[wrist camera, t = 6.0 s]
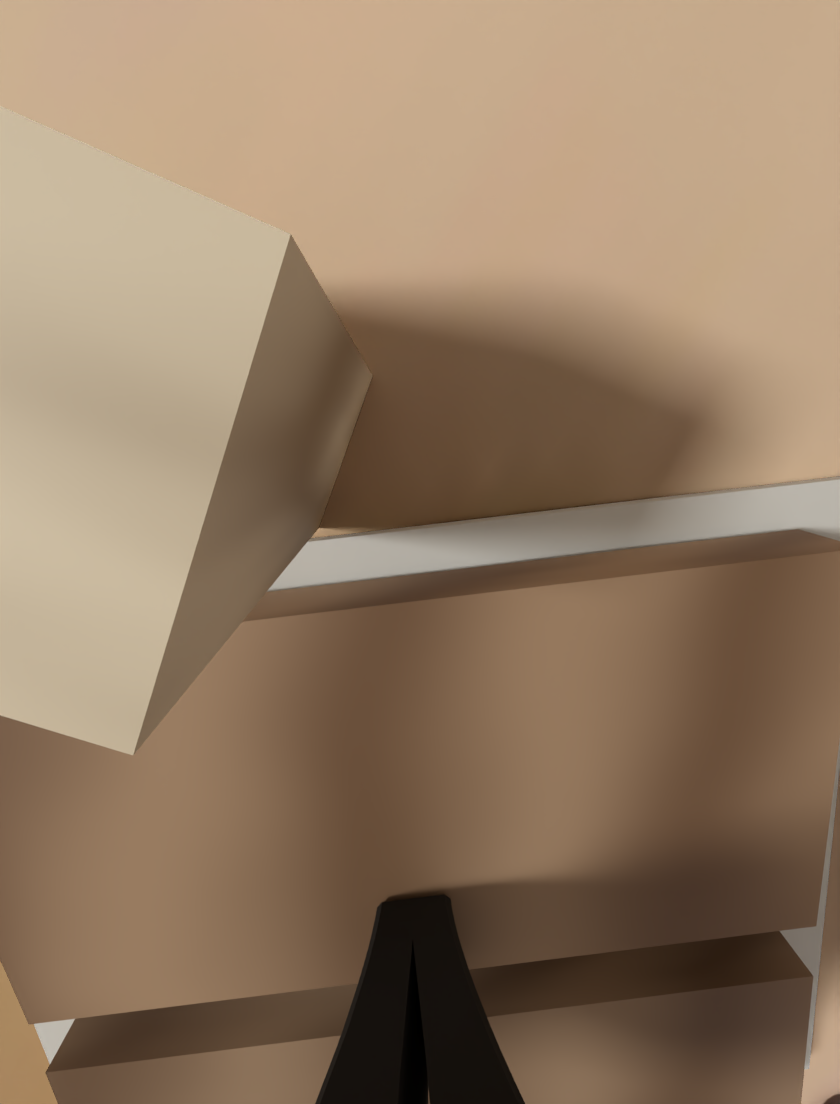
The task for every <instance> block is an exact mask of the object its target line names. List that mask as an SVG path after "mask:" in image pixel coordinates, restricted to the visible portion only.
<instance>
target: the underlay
mask: <svg viewBox="0 0 840 1104" xmlns="http://www.w3.org/2000/svg"><path fill="white" fill-rule="evenodd" d="M795 529H800V530H803V531H806V532H810V533H813V534H817V535H820V536H824V537H827V538H831V539H834V540H837V541H840V476H838V477H830V478H821V479H813V480H804V481H796V482H787V483H779V484H770V485H762V486H753V487H745V488H736V489H728V490H719V491H711V492H702V493H694V494H685V495H676V496H668V497H659V498H651V499H642V500H634V501H625V502H617V503H608V504H600V505H591V506H583V507H574V508H566V509H557V510H549V511H540V512H532V513H523V514H515V515H506V516H498V517H489V518H481V519H472V520H463V521H455V522H446V523H438V524H429V525H421V526H412V527H404V528H395V529H387V530H378V531H370V532H361V533H353V534H344V535H336V536H327V537H319V538H310V539H309V540H308V542H307V543H306V544H305V545H304V547H303V548H302V549H301V550H300V551H299V553H298V554H297V555H296V556H295V558H294V559H293V560H292V561H291V563H290V564H289V565H288V566H287V567H286V569H285V570H284V571H283V572H282V574H281V575H280V576H279V577H278V578H277V580H276V581H275V582H274V583H273V585H272V586H271V587H270V588H269V589H268V591H267V592H270V591H279V590H287V589H296V588H304V587H313V586H321V585H329V584H338V583H346V582H355V581H363V580H372V579H380V578H389V577H397V576H406V575H414V574H423V573H431V572H439V571H448V570H456V569H465V568H473V567H482V566H490V565H499V564H507V563H516V562H524V561H533V560H541V559H550V558H558V557H566V556H575V555H583V554H592V553H600V552H609V551H617V550H626V549H634V548H643V547H651V546H660V545H668V544H676V543H685V542H693V541H702V540H710V539H719V538H727V537H736V536H744V535H753V534H761V533H770V532H778V531H786V530H795ZM839 771H840V741H839V749H838V757H837V765H836V773H835V781H834V789H833V797H832V805H831V813H830V821H829V829H828V837H827V845H826V853H825V861H824V869H823V877H822V885H821V893H820V901H819V909H818V917H817V925H816V926H814V927H806V928H798V929H790V930H782V931H780V932H781V934H782V935H783V936H784V938H785V939H786V940H787V942H788V943H789V944H790V946H791V947H792V948H793V950H794V951H795V952H796V954H797V955H798V956H799V958H800V959H801V960H802V962H803V963H804V964H805V966H806V967H807V968H808V970H809V971H810V972H811V974H812V975H813V985H812V995H811V1006H810V1016H809V1026H808V1036H807V1046H806V1056H805V1066H804V1069H809V1065H810V1055H811V1045H812V1035H813V1026H814V1016H815V1006H816V996H817V986H818V977H819V967H820V957H821V947H822V937H823V928H824V918H825V908H826V898H827V888H828V879H829V869H830V859H831V849H832V839H833V830H834V820H835V810H836V800H837V790H838V781H839ZM74 1020H75V1019H69V1020H61V1021H53V1022H45V1023H37V1024H34V1026H35V1028H36V1031H37V1033H38V1036H39V1038H40V1041H41V1043H42V1046H43V1048H44V1051H45V1053H46V1056H47V1058H48V1061H49V1063H50V1064H51V1062H52V1060H53V1058H54V1056H55V1055H56V1053H57V1051H58V1049H59V1047H60V1045H61V1044H62V1042H63V1040H64V1038H65V1036H66V1035H67V1033H68V1031H69V1029H70V1027H71V1025H72V1024H73V1022H74Z"/></svg>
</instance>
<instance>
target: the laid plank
mask: <svg viewBox="0 0 840 1104" xmlns="http://www.w3.org/2000/svg"><path fill="white" fill-rule="evenodd" d="M469 971H470V974H471V977H472V979H473V982H474V985H475V988H476V990H477V993H478V995H479V998H480V1001H481V1003H482V1006H483V1008H484V1011H485V1013H486V1016H487V1018H488V1021H489V1023H490V1026H491V1028H492V1031H493V1033H494V1035H495V1038H496V1040H497V1042H498V1045H499V1047H500V1050H501V1052H502V1054H503V1056H504V1058H505V1061H506V1063H507V1065H508V1067H509V1070H510V1072H511V1074H512V1076H513V1078H514V1081H515V1083H516V1085H517V1087H518V1089H519V1091H520V1094H521V1096H522V1098H523V1100H524V1102H525V1104H801V1097H802V1087H803V1076H804V1066H805V1056H806V1046H807V1036H808V1026H809V1016H810V1006H811V995H812V985H813V975H812V974H811V972H810V971H809V970H808V968H807V967H806V966H805V964H804V963H803V962H802V960H801V959H800V958H799V956H798V955H797V954H796V952H795V951H794V950H793V948H792V947H791V946H790V944H789V943H788V942H787V940H786V939H785V938H784V936H783V935H782V934H781V932H780V931H774V932H766V933H758V934H750V935H742V936H734V937H726V938H718V939H710V940H702V941H694V942H686V943H678V944H670V945H662V946H654V947H646V948H638V949H630V950H622V951H614V952H606V953H598V954H590V955H582V956H574V957H566V958H558V959H550V960H542V961H534V962H526V963H518V964H510V965H502V966H494V967H486V968H478V969H470V970H469ZM357 985H358V984H350V985H342V986H334V987H326V988H318V989H310V990H301V991H293V992H285V993H277V994H269V995H261V996H253V997H245V998H237V999H229V1000H221V1001H213V1002H205V1003H197V1004H189V1005H181V1006H173V1007H165V1008H157V1009H149V1010H141V1011H133V1012H125V1013H117V1014H109V1015H101V1016H93V1017H85V1018H77V1019H75V1020H74V1022H73V1024H72V1025H71V1027H70V1029H69V1031H68V1033H67V1035H66V1036H65V1038H64V1040H63V1042H62V1044H61V1045H60V1047H59V1049H58V1051H57V1053H56V1055H55V1056H54V1058H53V1060H52V1062H51V1064H50V1065H49V1067H48V1069H47V1071H46V1075H47V1077H48V1080H49V1082H50V1085H51V1087H52V1090H53V1092H54V1095H55V1097H56V1100H57V1102H58V1104H315V1103H316V1100H317V1098H318V1095H319V1092H320V1090H321V1087H322V1084H323V1082H324V1079H325V1077H326V1074H327V1071H328V1069H329V1066H330V1063H331V1061H332V1058H333V1055H334V1053H335V1050H336V1048H337V1045H338V1042H339V1039H340V1036H341V1034H342V1031H343V1028H344V1025H345V1022H346V1019H347V1016H348V1013H349V1010H350V1007H351V1004H352V1000H353V997H354V994H355V991H356V988H357ZM428 1104H430V1100H429V1090H428Z"/></svg>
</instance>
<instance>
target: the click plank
mask: <svg viewBox="0 0 840 1104" xmlns="http://www.w3.org/2000/svg"><path fill="white" fill-rule="evenodd" d="M839 741H840V541H837V540H834V539H831V538H827V537H824V536H820V535H817V534H813V533H810V532H806V531H803V530H800V529H795V530H786V531H778V532H770V533H761V534H753V535H744V536H736V537H727V538H719V539H710V540H702V541H693V542H685V543H676V544H668V545H660V546H651V547H643V548H634V549H626V550H617V551H609V552H600V553H592V554H583V555H575V556H566V557H558V558H550V559H541V560H533V561H524V562H516V563H507V564H499V565H490V566H482V567H473V568H465V569H456V570H448V571H439V572H431V573H423V574H414V575H406V576H397V577H389V578H380V579H372V580H363V581H355V582H346V583H338V584H329V585H321V586H313V587H304V588H296V589H287V590H279V591H270V592H266V593H265V594H264V596H263V597H262V598H261V599H260V601H259V602H258V603H257V604H256V605H255V607H254V608H253V609H252V610H251V612H250V613H249V614H248V615H247V616H246V618H245V619H244V620H243V621H242V623H241V624H240V625H239V626H238V627H237V629H236V630H235V631H234V632H233V634H232V635H231V636H230V637H229V639H228V640H227V641H226V642H225V643H224V645H223V646H222V647H221V648H220V650H219V651H218V652H217V653H216V654H215V656H214V657H213V658H212V659H211V661H210V662H209V663H208V664H207V666H206V667H205V668H204V669H203V670H202V672H201V673H200V674H199V675H198V677H197V678H196V679H195V680H194V681H193V683H192V684H191V685H190V686H189V688H188V689H187V690H186V691H185V692H184V694H183V695H182V696H181V697H180V699H179V700H178V701H177V702H176V704H175V705H174V706H173V707H172V708H171V710H170V711H169V712H168V713H167V715H166V716H165V717H164V718H163V719H162V721H161V722H160V723H159V724H158V726H157V727H156V728H155V729H154V730H153V732H152V733H151V734H150V735H149V737H148V738H147V739H146V740H145V742H144V743H143V744H142V745H141V746H140V748H139V749H138V750H137V751H136V753H135V754H134V755H130V754H126V753H123V752H120V751H117V750H113V749H110V748H107V747H103V746H100V745H97V744H93V743H90V742H87V741H83V740H80V739H77V738H73V737H70V736H67V735H64V734H60V733H57V732H54V731H50V730H47V729H44V728H40V727H37V726H34V725H30V724H27V723H24V722H21V721H17V720H14V719H11V718H7V717H4V716H1V715H0V960H1V963H2V965H3V967H4V969H5V972H6V974H7V976H8V978H9V981H10V983H11V985H12V987H13V990H14V992H15V994H16V997H17V999H18V1001H19V1003H20V1006H21V1008H22V1010H23V1012H24V1015H25V1017H26V1019H27V1021H28V1024H37V1023H45V1022H53V1021H61V1020H69V1019H77V1018H85V1017H93V1016H101V1015H109V1014H117V1013H125V1012H133V1011H141V1010H149V1009H157V1008H165V1007H173V1006H181V1005H189V1004H197V1003H205V1002H213V1001H221V1000H229V999H237V998H245V997H253V996H261V995H269V994H277V993H285V992H293V991H301V990H310V989H318V988H326V987H334V986H342V985H350V984H358V982H359V979H360V975H361V972H362V968H363V965H364V961H365V958H366V954H367V951H368V947H369V943H370V939H371V935H372V930H373V926H374V921H375V916H376V911H377V907H378V906H379V905H380V904H381V903H382V902H386V901H395V900H403V899H411V898H419V897H427V896H435V895H443V894H445V895H446V896H448V897H449V898H450V899H451V905H452V911H453V916H454V920H455V925H456V929H457V933H458V936H459V940H460V943H461V947H462V950H463V953H464V956H465V959H466V962H467V965H468V968H469V970H470V969H478V968H486V967H494V966H502V965H510V964H518V963H526V962H534V961H542V960H550V959H558V958H566V957H574V956H582V955H590V954H598V953H606V952H614V951H622V950H630V949H638V948H646V947H654V946H662V945H670V944H678V943H686V942H694V941H702V940H710V939H718V938H726V937H734V936H742V935H750V934H758V933H766V932H774V931H782V930H790V929H798V928H806V927H814V926H816V925H817V917H818V909H819V901H820V893H821V885H822V877H823V869H824V861H825V853H826V845H827V837H828V829H829V821H830V813H831V805H832V797H833V789H834V781H835V773H836V765H837V757H838V749H839Z"/></svg>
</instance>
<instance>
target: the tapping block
mask: <svg viewBox="0 0 840 1104" xmlns="http://www.w3.org/2000/svg"><path fill="white" fill-rule="evenodd" d="M372 376H373V375H372V374H371V372H370V370H369V369H368V367H367V365H366V363H365V362H364V360H363V358H362V356H361V355H360V353H359V351H358V350H357V348H356V346H355V344H354V343H353V341H352V339H351V337H350V336H349V334H348V332H347V331H346V329H345V327H344V325H343V324H342V322H341V320H340V318H339V317H338V315H337V313H336V312H335V310H334V308H333V306H332V305H331V303H330V301H329V299H328V298H327V296H326V294H325V292H324V291H323V289H322V287H321V286H320V284H319V282H318V280H317V279H316V277H315V275H314V273H313V272H312V270H311V268H310V267H309V265H308V263H307V261H306V260H305V258H304V256H303V254H302V253H301V251H300V249H299V248H298V246H297V244H296V242H295V241H294V239H293V237H292V235H291V234H289V233H287V232H285V231H283V230H280V229H278V228H276V227H274V226H271V225H269V224H267V223H265V222H262V221H260V220H258V219H255V218H253V217H251V216H249V215H246V214H244V213H242V212H240V211H237V210H235V209H233V208H231V207H228V206H226V205H224V204H221V203H219V202H217V201H215V200H212V199H210V198H208V197H206V196H203V195H201V194H199V193H197V192H194V191H192V190H190V189H187V188H185V187H183V186H181V185H178V184H176V183H174V182H172V181H169V180H167V179H165V178H163V177H160V176H158V175H156V174H153V173H151V172H149V171H147V170H144V169H142V168H140V167H138V166H135V165H133V164H131V163H129V162H126V161H124V160H122V159H119V158H117V157H115V156H113V155H110V154H108V153H106V152H104V151H101V150H99V149H97V148H95V147H92V146H90V145H88V144H85V143H83V142H81V141H79V140H76V139H74V138H72V137H70V136H67V135H65V134H63V133H61V132H58V131H56V130H54V129H51V128H49V127H47V126H45V125H42V124H40V123H38V122H36V121H33V120H31V119H29V118H27V117H24V116H22V115H20V114H17V113H15V112H13V111H11V110H8V109H6V108H4V107H2V106H0V715H1V716H4V717H7V718H11V719H14V720H17V721H21V722H24V723H27V724H30V725H34V726H37V727H40V728H44V729H47V730H50V731H54V732H57V733H60V734H64V735H67V736H70V737H73V738H77V739H80V740H83V741H87V742H90V743H93V744H97V745H100V746H103V747H107V748H110V749H113V750H117V751H120V752H123V753H126V754H130V755H134V754H135V753H136V751H137V750H138V749H139V748H140V746H141V745H142V744H143V743H144V742H145V740H146V739H147V738H148V737H149V735H150V734H151V733H152V732H153V730H154V729H155V728H156V727H157V726H158V724H159V723H160V722H161V721H162V719H163V718H164V717H165V716H166V715H167V713H168V712H169V711H170V710H171V708H172V707H173V706H174V705H175V704H176V702H177V701H178V700H179V699H180V697H181V696H182V695H183V694H184V692H185V691H186V690H187V689H188V688H189V686H190V685H191V684H192V683H193V681H194V680H195V679H196V678H197V677H198V675H199V674H200V673H201V672H202V670H203V669H204V668H205V667H206V666H207V664H208V663H209V662H210V661H211V659H212V658H213V657H214V656H215V654H216V653H217V652H218V651H219V650H220V648H221V647H222V646H223V645H224V643H225V642H226V641H227V640H228V639H229V637H230V636H231V635H232V634H233V632H234V631H235V630H236V629H237V627H238V626H239V625H240V624H241V623H242V621H243V620H244V619H245V618H246V616H247V615H248V614H249V613H250V612H251V610H252V609H253V608H254V607H255V605H256V604H257V603H258V602H259V601H260V599H261V598H262V597H263V596H264V594H265V593H266V592H267V591H268V589H269V588H270V587H271V586H272V585H273V583H274V582H275V581H276V580H277V578H278V577H279V576H280V575H281V574H282V572H283V571H284V570H285V569H286V567H287V566H288V565H289V564H290V563H291V561H292V560H293V559H294V558H295V556H296V555H297V554H298V553H299V551H300V550H301V549H302V548H303V547H304V545H305V544H306V543H307V542H308V540H309V539H310V538H311V537H312V536H313V534H314V533H315V532H316V531H317V529H318V528H319V526H320V523H321V520H322V517H323V514H324V512H325V509H326V506H327V503H328V500H329V498H330V495H331V492H332V489H333V486H334V483H335V481H336V478H337V475H338V472H339V469H340V467H341V464H342V461H343V458H344V455H345V452H346V450H347V447H348V444H349V441H350V438H351V436H352V433H353V430H354V427H355V424H356V421H357V419H358V416H359V413H360V410H361V407H362V405H363V402H364V399H365V396H366V393H367V391H368V388H369V385H370V382H371V379H372Z"/></svg>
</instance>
